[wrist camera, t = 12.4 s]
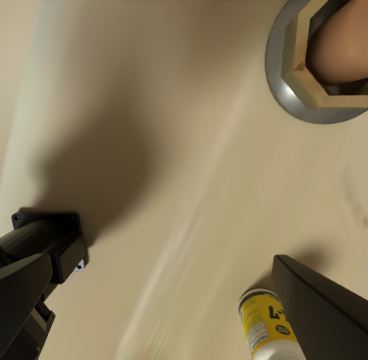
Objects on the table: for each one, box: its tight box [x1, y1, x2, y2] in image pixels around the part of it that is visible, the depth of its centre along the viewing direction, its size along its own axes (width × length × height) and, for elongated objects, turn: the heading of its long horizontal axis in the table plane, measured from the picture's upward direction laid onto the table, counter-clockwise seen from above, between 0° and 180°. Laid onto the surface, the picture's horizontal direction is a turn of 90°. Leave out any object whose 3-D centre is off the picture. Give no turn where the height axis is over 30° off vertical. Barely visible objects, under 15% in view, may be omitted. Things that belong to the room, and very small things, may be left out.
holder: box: [265, 0, 368, 124], centre depth 16 cm, size 11×11×3 cm
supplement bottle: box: [238, 289, 306, 360], centre depth 19 cm, size 5×5×8 cm
